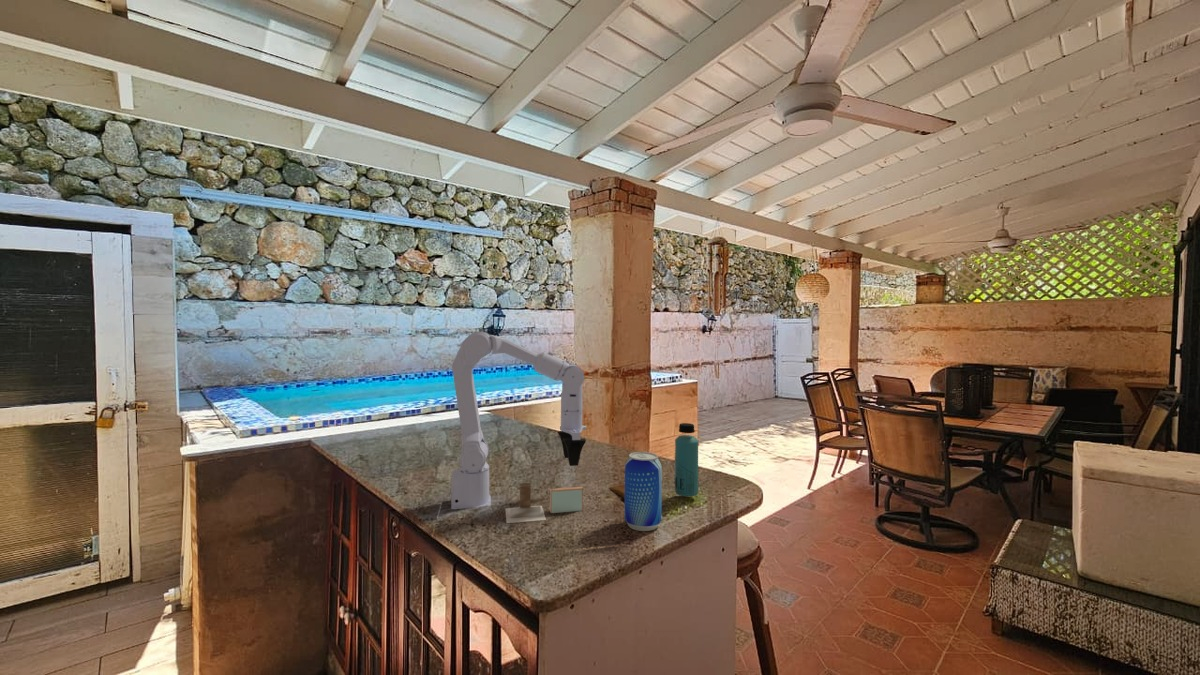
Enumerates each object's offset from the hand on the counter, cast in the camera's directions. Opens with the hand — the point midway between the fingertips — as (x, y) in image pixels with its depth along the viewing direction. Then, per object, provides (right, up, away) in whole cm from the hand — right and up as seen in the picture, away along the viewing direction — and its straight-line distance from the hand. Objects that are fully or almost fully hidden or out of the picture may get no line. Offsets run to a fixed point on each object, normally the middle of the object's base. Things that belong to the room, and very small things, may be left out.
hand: (571, 461), depth 122 cm
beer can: (+18, -11, -16) cm, 26 cm away
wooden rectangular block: (-10, -10, -11) cm, 18 cm away
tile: (-1, -10, -9) cm, 14 cm away
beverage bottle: (+31, -10, +1) cm, 33 cm away
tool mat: (-10, -10, -11) cm, 18 cm away
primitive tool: (+15, -11, +2) cm, 18 cm away
